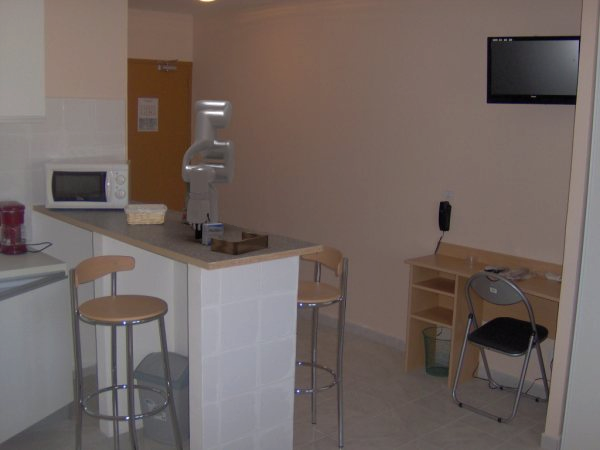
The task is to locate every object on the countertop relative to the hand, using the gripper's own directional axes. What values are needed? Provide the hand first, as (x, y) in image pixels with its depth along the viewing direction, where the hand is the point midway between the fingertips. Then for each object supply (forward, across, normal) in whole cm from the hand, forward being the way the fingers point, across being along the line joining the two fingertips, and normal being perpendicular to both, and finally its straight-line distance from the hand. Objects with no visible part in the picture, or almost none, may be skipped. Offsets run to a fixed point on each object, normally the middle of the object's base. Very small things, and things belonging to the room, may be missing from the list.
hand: (198, 238), depth 307 cm
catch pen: (+1, +22, 0) cm, 22 cm away
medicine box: (+1, +8, 0) cm, 8 cm away
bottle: (+1, -34, +32) cm, 47 cm away
